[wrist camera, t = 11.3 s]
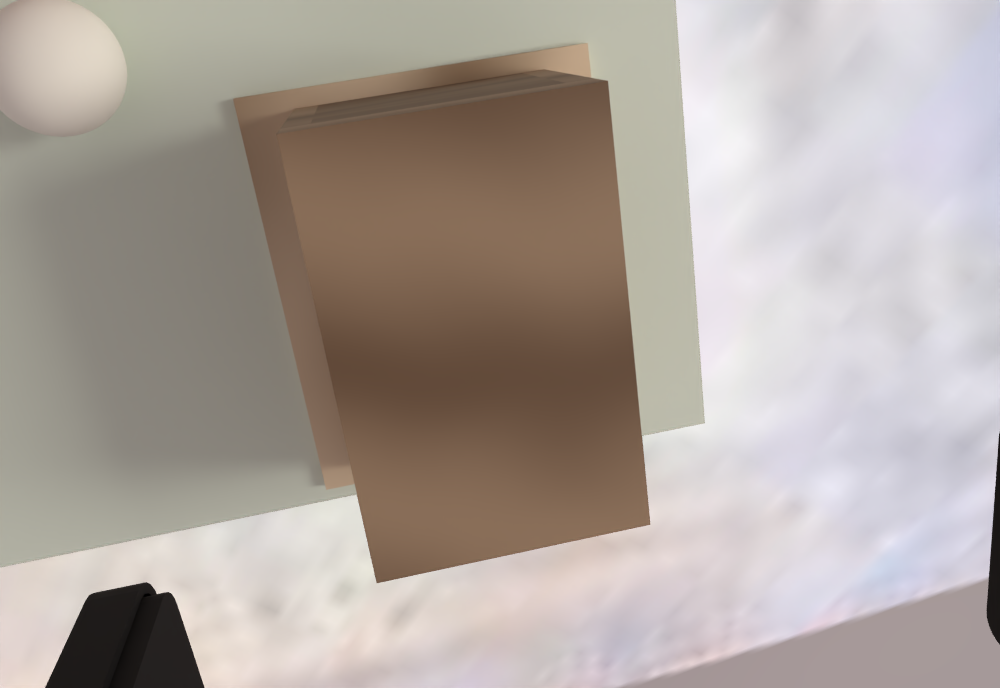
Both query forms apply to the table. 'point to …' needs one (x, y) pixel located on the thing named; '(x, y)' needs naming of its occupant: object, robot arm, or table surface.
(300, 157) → the walnut cover
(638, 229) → the sage board
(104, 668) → the robot arm
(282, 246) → the cork pad
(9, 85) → the cream ball
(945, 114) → the table surface
